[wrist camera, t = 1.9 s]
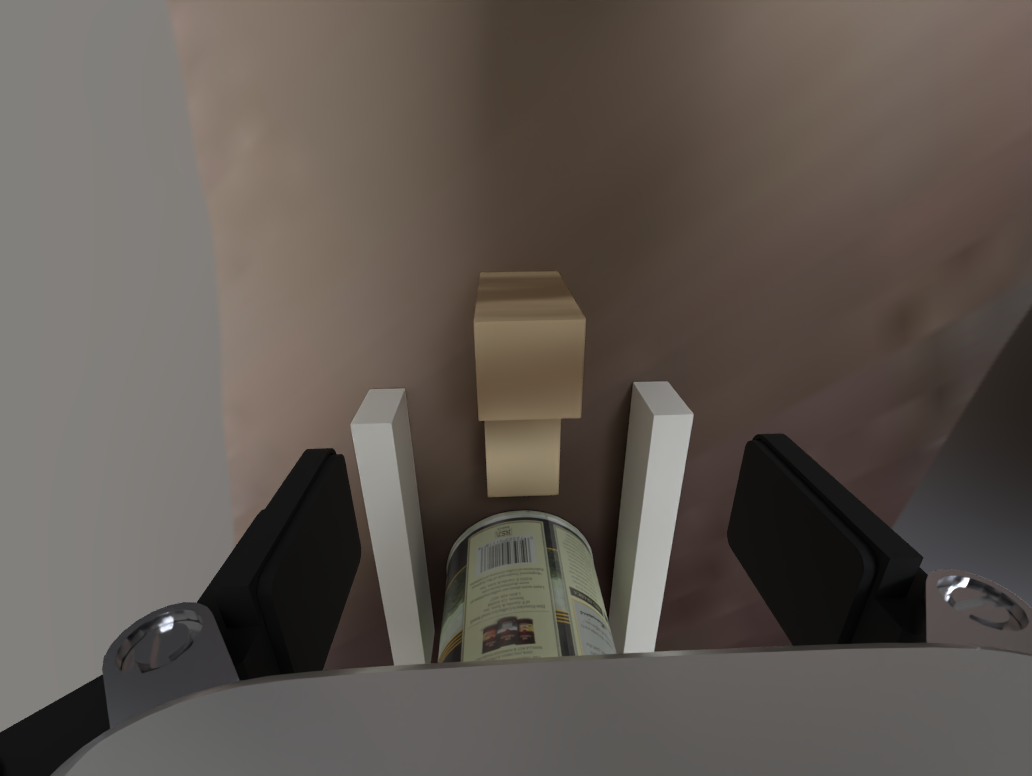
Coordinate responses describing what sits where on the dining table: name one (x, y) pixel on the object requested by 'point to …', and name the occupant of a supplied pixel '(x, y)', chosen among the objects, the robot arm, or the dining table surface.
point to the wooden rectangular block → (526, 376)
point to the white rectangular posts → (641, 529)
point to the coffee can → (522, 592)
